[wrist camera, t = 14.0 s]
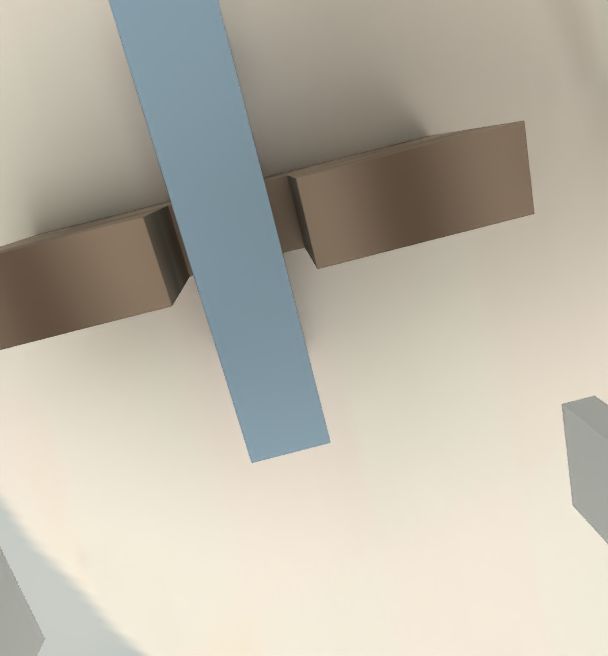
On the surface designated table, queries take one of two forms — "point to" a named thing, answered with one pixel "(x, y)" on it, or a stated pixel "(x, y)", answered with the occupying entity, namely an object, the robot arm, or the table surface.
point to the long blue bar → (224, 216)
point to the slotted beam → (290, 220)
